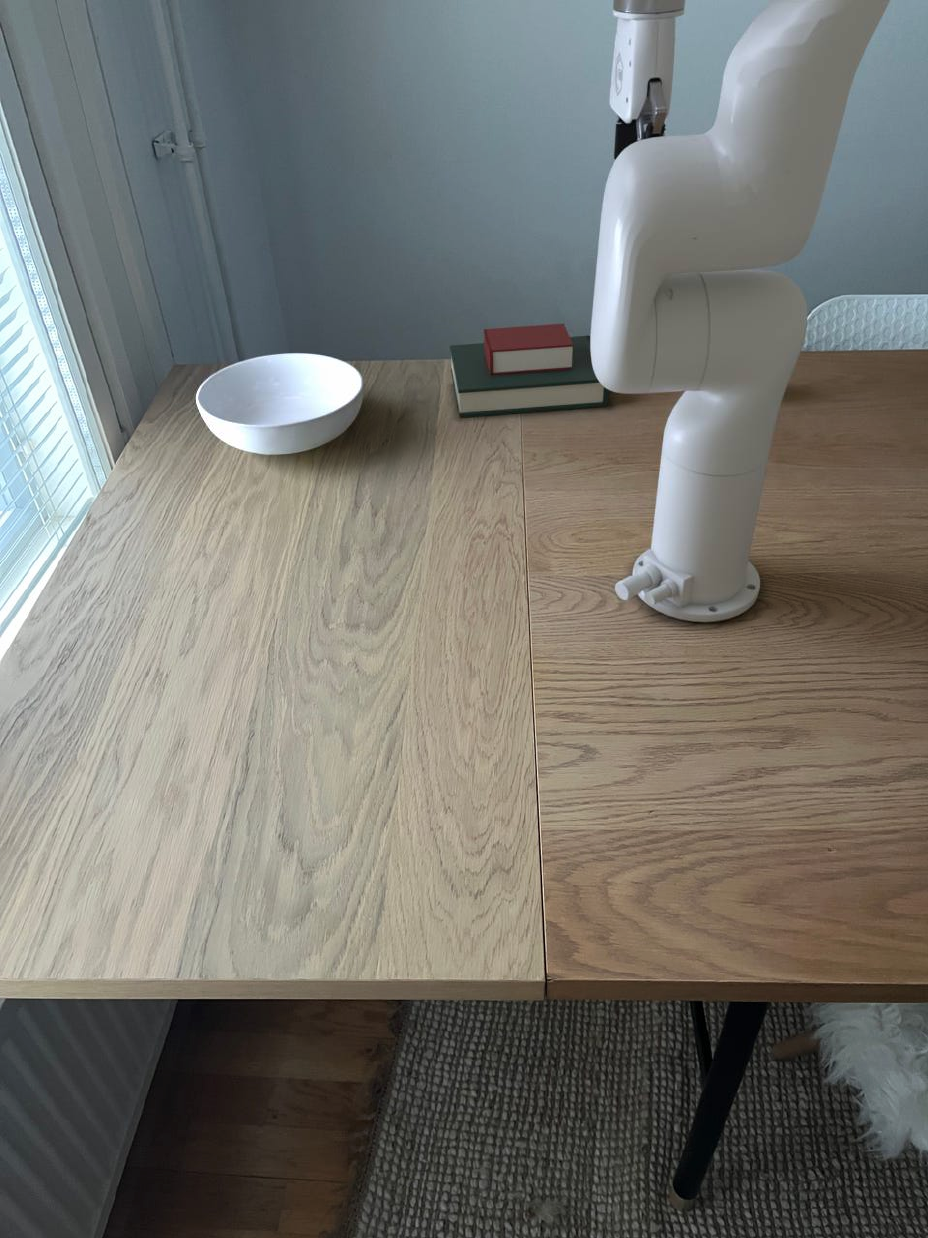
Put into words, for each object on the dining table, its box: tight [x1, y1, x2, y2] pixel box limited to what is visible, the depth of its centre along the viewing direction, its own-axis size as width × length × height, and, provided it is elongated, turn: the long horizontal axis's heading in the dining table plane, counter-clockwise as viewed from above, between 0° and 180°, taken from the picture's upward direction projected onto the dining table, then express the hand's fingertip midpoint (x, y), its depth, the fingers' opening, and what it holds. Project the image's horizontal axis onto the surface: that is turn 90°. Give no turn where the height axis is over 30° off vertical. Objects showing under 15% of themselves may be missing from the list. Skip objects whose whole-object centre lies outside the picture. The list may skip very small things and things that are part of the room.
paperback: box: [483, 323, 573, 375], centre depth 128 cm, size 11×7×4 cm, turn 95°
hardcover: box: [449, 334, 611, 418], centre depth 130 cm, size 20×14×4 cm
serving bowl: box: [195, 352, 365, 456], centre depth 121 cm, size 21×21×7 cm
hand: (636, 170), depth 112 cm, fingers open, 9 cm apart
